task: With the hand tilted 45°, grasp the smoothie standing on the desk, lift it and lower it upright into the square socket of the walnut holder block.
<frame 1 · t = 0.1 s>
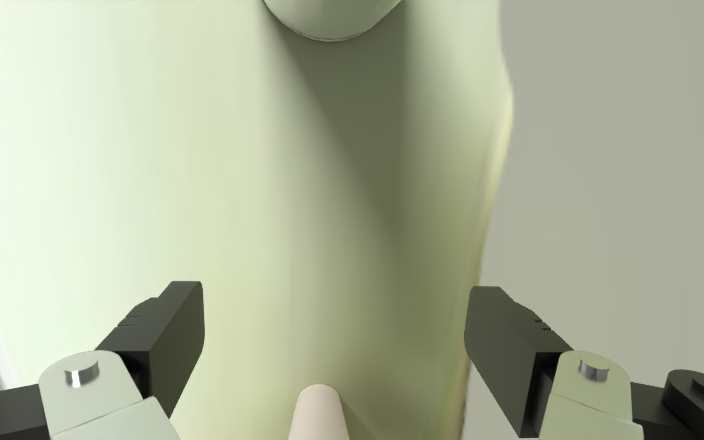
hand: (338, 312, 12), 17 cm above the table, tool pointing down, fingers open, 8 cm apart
smoothie: (318, 399, 35), on the table
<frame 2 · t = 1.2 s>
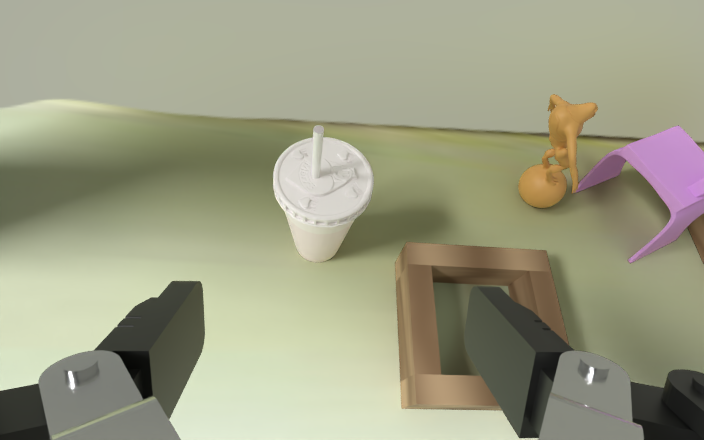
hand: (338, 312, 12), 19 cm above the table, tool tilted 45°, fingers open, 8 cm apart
smoothie: (317, 242, 34), on the table
toy chair: (619, 213, 39), on the table
holder: (467, 332, 31), on the table
figurine: (519, 197, 38), on the table
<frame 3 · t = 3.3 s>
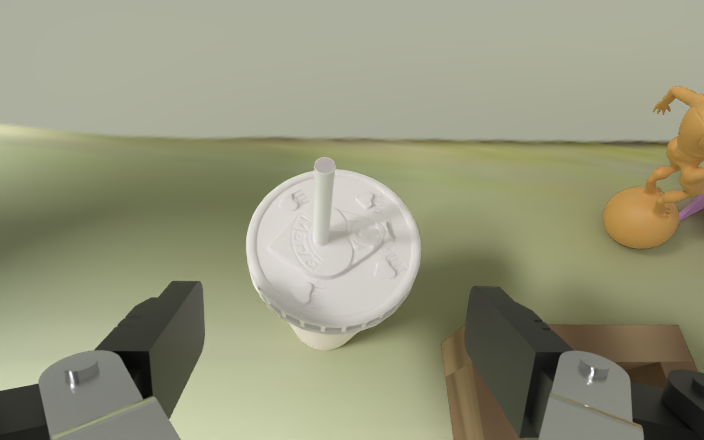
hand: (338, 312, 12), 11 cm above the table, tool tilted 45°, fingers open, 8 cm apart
smoothie: (325, 317, 23), on the table
figurine: (602, 232, 28), on the table
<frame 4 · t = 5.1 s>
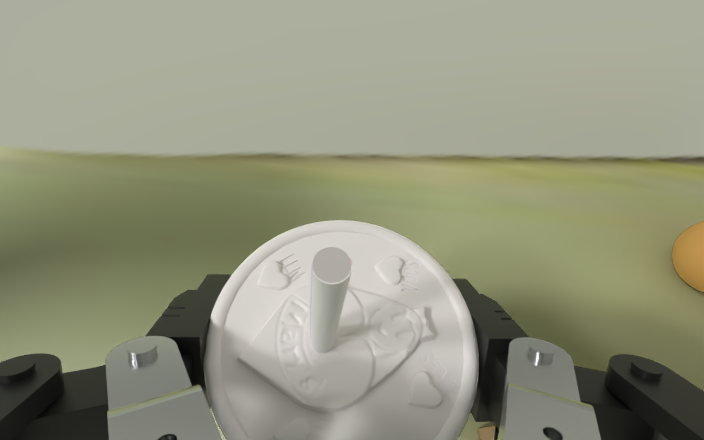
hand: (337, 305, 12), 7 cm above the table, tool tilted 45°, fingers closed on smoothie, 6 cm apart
smoothie: (327, 392, 18), on the table, touching gripper
figurine: (669, 273, 22), on the table
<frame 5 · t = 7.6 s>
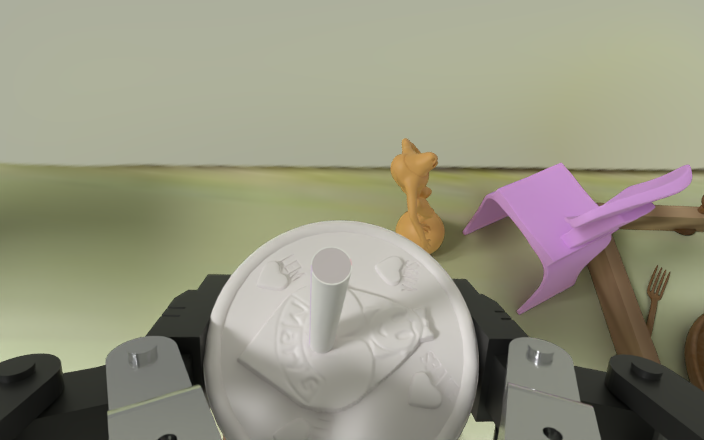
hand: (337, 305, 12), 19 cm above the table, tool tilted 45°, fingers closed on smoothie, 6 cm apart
smoothie: (327, 392, 18), point 12 cm above the table, touching gripper
toy chair: (514, 256, 36), on the table
figurine: (402, 243, 35), on the table
when the fingers open (8 cm above the table, at t = 10.1 s): smoothie stays where it is, resting on holder.
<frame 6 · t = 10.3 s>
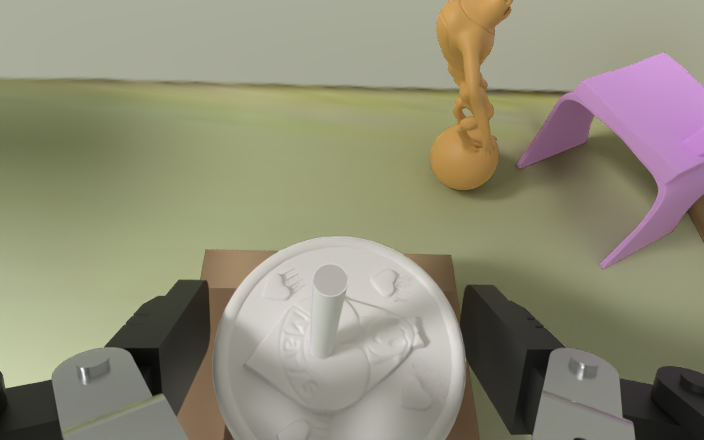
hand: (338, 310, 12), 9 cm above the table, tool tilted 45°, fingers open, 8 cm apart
smoothie: (326, 400, 18), resting on holder
toy chair: (587, 196, 27), on the table
holder: (326, 396, 19), on the table
figurine: (437, 177, 26), on the table
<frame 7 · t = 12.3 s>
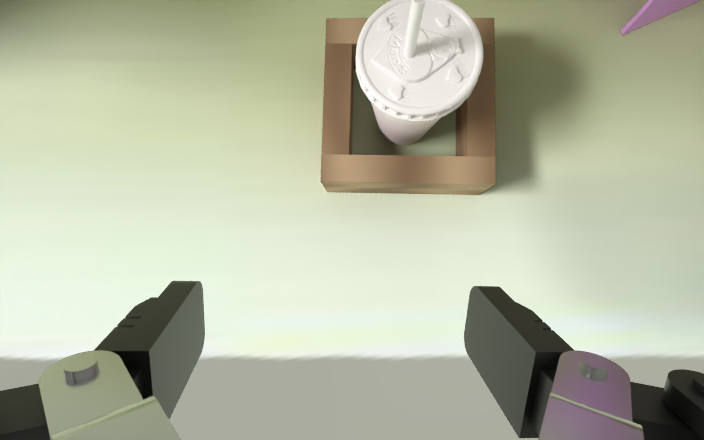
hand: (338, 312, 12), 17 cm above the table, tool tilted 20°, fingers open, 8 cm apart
smoothie: (403, 121, 30), resting on holder
holder: (403, 120, 30), on the table
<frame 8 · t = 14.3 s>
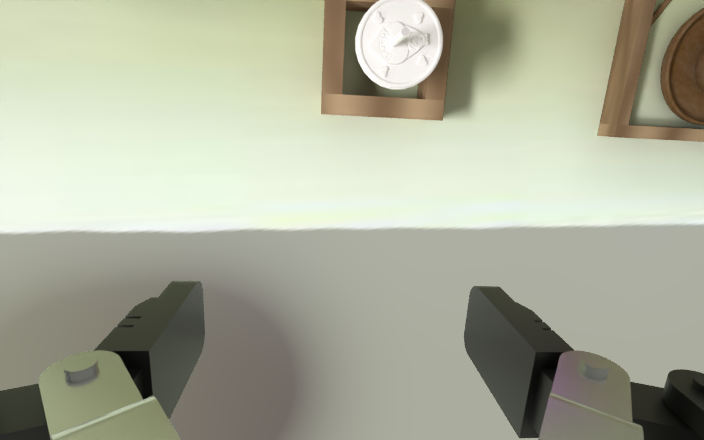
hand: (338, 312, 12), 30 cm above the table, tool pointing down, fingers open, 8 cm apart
smoothie: (380, 59, 38), resting on holder
holder: (380, 57, 39), on the table
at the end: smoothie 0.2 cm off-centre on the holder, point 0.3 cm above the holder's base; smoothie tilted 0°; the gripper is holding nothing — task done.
